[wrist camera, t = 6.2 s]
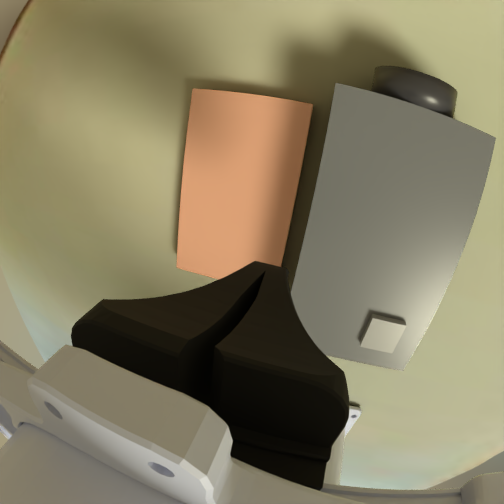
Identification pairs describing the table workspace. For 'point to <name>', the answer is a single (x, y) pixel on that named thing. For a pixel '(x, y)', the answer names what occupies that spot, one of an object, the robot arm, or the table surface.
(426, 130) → the camera housing
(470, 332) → the table surface
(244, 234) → the side door
